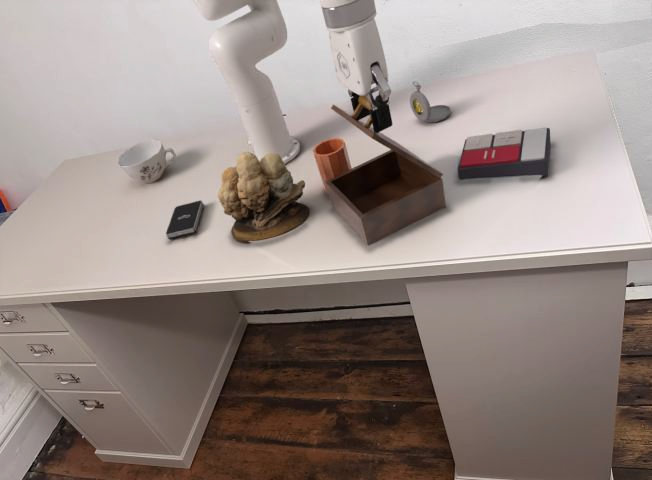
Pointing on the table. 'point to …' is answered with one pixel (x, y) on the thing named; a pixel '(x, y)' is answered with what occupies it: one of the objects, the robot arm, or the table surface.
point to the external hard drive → (185, 220)
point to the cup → (331, 159)
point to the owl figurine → (261, 198)
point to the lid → (382, 135)
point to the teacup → (146, 161)
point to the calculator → (506, 154)
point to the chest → (385, 195)
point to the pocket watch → (427, 107)
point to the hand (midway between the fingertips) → (373, 121)
